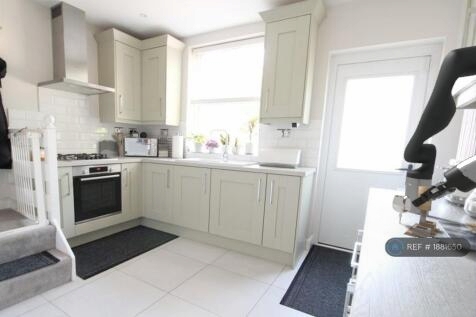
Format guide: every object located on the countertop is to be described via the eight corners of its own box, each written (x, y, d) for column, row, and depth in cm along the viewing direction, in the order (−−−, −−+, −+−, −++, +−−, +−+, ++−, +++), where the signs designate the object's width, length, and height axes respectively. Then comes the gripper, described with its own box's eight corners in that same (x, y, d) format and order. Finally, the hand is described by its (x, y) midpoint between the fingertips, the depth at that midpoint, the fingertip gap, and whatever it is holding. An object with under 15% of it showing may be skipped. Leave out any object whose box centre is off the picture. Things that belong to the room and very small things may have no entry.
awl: (417, 219, 76) (420, 185, 75) (430, 222, 73) (433, 187, 73) (414, 221, 74) (417, 186, 73) (428, 225, 71) (431, 188, 70)
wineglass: (402, 230, 81) (405, 199, 81) (387, 225, 87) (389, 195, 86) (412, 228, 84) (415, 198, 83) (396, 223, 89) (399, 194, 88)
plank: (415, 226, 86) (416, 216, 86) (439, 232, 81) (440, 222, 80) (402, 238, 74) (403, 226, 74) (429, 246, 69) (431, 233, 69)
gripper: (467, 163, 69) (417, 193, 81) (450, 163, 62) (398, 196, 73) (490, 182, 65) (434, 211, 76) (474, 185, 58) (415, 216, 69)
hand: (416, 203), depth 75 cm, fingers closed on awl, 3 cm apart
